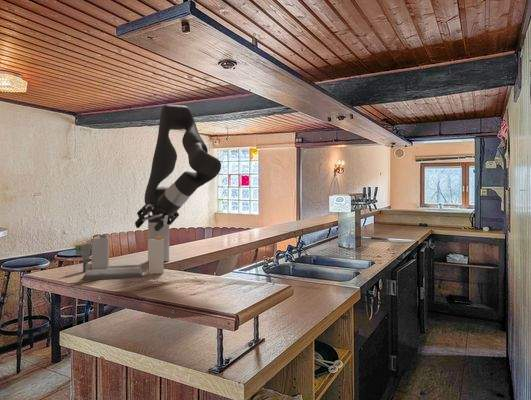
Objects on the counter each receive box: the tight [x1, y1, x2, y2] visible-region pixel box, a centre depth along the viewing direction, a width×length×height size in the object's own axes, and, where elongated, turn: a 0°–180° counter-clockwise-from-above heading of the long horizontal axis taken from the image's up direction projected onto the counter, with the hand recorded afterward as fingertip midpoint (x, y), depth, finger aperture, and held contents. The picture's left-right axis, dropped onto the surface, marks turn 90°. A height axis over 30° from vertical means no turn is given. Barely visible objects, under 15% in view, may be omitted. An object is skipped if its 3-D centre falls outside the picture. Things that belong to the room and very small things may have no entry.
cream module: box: [148, 237, 165, 275], centre depth 139 cm, size 4×5×13 cm
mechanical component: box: [74, 242, 92, 272], centre depth 142 cm, size 3×10×10 cm, turn 174°
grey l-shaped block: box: [82, 234, 143, 281], centre depth 132 cm, size 12×18×14 cm, turn 108°
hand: (146, 227), depth 136 cm, fingers open, 8 cm apart
